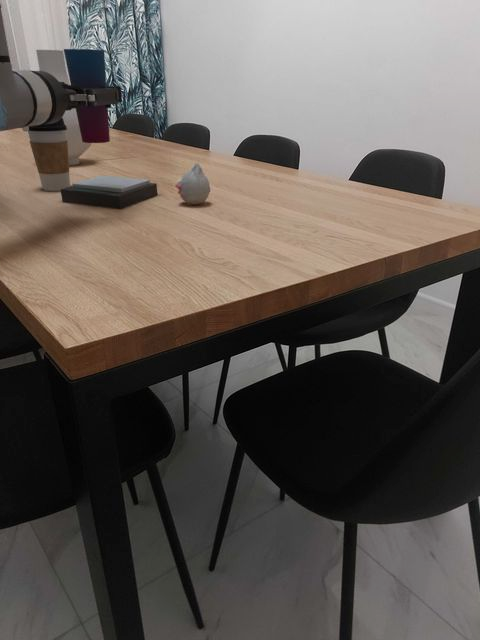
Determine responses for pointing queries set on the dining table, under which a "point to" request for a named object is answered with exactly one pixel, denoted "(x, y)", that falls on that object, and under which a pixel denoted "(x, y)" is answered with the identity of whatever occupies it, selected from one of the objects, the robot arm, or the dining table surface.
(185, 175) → the figurine
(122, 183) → the scale
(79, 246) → the dining table surface
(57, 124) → the coffee cup
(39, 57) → the vase
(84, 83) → the cup
